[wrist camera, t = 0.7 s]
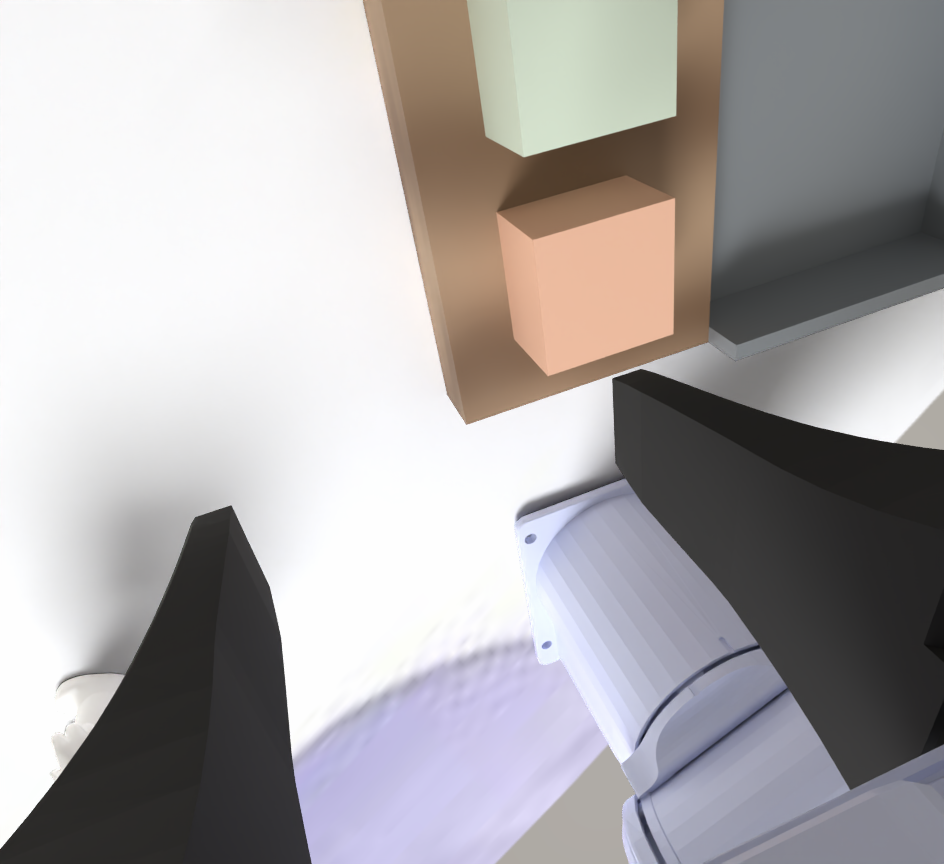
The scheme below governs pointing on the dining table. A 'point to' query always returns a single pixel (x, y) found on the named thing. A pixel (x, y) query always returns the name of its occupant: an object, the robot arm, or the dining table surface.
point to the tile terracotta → (589, 271)
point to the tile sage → (572, 68)
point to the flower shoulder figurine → (81, 711)
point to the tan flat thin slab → (532, 194)
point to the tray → (825, 166)
